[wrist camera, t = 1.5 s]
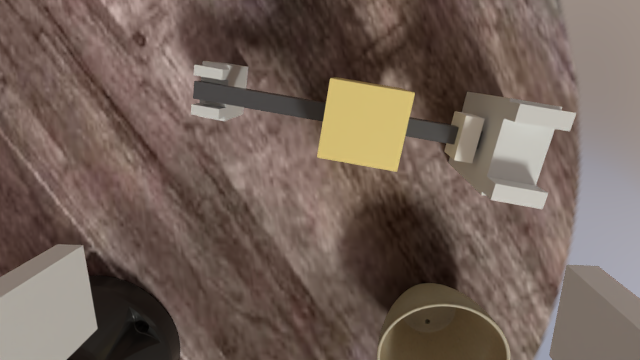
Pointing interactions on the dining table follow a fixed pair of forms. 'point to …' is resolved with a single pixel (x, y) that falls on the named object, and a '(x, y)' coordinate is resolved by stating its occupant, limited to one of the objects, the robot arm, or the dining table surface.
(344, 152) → the sleeve
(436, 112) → the dining table surface
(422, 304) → the flower pot
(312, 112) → the linear slide mechanism
